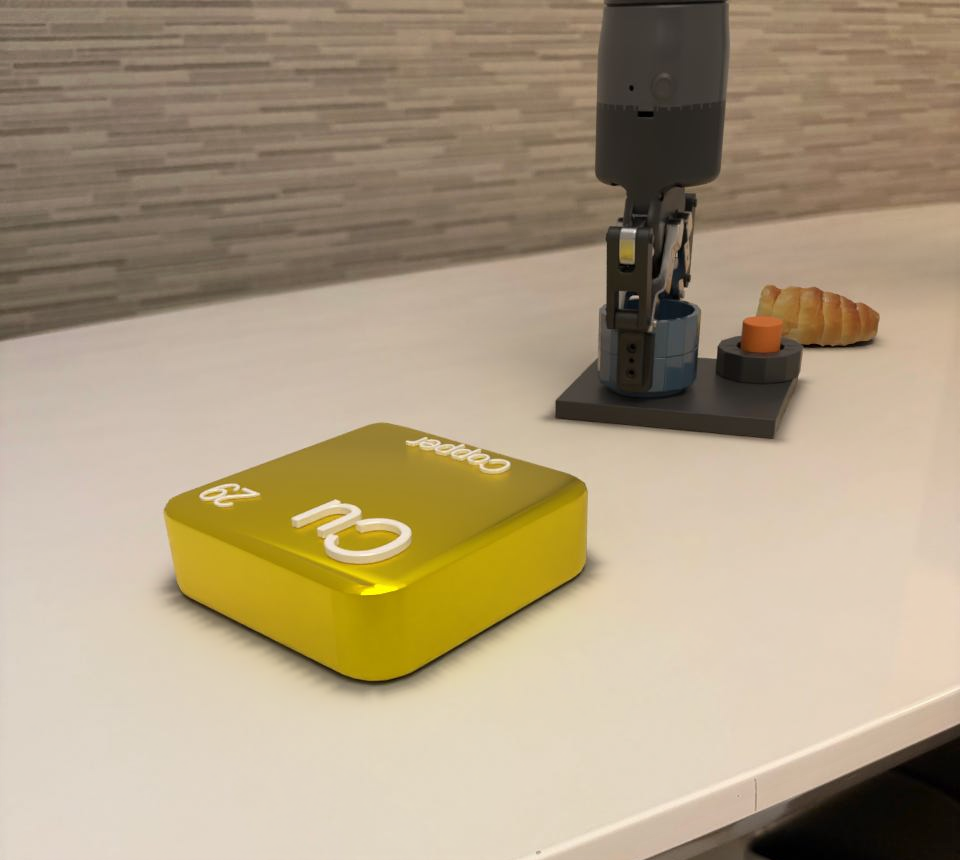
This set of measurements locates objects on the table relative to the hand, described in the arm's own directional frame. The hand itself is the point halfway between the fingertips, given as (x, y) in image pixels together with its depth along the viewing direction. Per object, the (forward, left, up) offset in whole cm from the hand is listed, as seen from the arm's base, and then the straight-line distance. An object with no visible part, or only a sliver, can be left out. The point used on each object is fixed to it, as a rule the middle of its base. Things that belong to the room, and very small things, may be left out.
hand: (646, 374), depth 72 cm
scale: (-2, -1, -2) cm, 3 cm away
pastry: (-8, -19, -2) cm, 21 cm away
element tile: (+6, +29, -2) cm, 29 cm away
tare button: (-7, -5, +1) cm, 8 cm away
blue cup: (0, 0, -1) cm, 1 cm away
